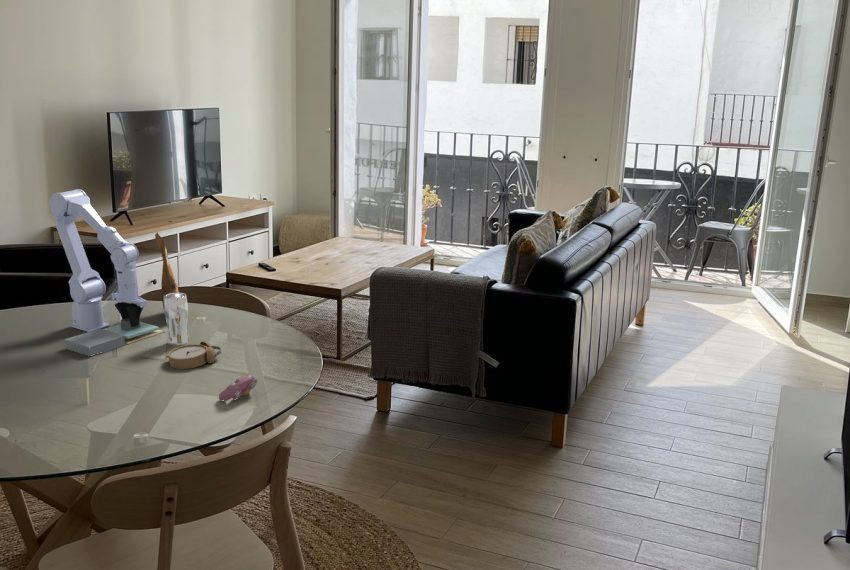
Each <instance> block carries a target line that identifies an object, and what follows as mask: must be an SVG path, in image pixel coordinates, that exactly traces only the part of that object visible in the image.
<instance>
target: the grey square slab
mask: <svg viewBox="0 0 850 570" xmlns="http://www.w3.org/2000/svg"><path fill="white" fill-rule="evenodd" d="M102 329H103V328H101V329H97V330H93V331H90V332H87V331H86V332H84V333H81V334H79V335H78V334H77V335H74V336H70V337H67V338H64V348H65V350H68V351H70V352H73V351H74V352H73V353H76V352H77V353H76V354H79V355H83V354H85V355H84V356H86V355H89V356H91V355H93V354H97V353H100V352H104V353H106V352H105V351H107V352H110V351H112V350H115V349H119V348H121V347H124V346H126V344H125V338H124V336H122V335H119V334H115V333H112V332H109V331H105V330H102ZM89 356H88V357H89Z"/></svg>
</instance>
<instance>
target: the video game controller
mask: <svg viewBox="0 0 850 570" xmlns="http://www.w3.org/2000/svg"><path fill="white" fill-rule="evenodd" d="M257 384H258V379H257V378H255V377H254V376H251V375H250V374H248V375H246V376H240V377H237V379H235V381H233V382H230V384H229V385H228V386H227V387H226V388H225V389H224V390H222V391H221V392H220V393H219V395H218V400H219V401H220V400H224V401H225V402H227V401H229V400H231V399H233V400H234V399H236V398H239V397H240V398H241V396H242V397H245V396H244V395H246V396H247V395H249V393H250V392H251V390H252V389H254V388H255V387H256V386H257ZM240 398H239V399H240Z"/></svg>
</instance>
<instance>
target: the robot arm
mask: <svg viewBox="0 0 850 570" xmlns="http://www.w3.org/2000/svg"><path fill="white" fill-rule="evenodd" d="M48 205H49V207H50V210H51V212H52V213H51V214H52V216H53V221H54V224H55V227H56V230H57V233H58V235H59V239H60V240H61V244H62V246H63V249H64V252H65V255H66V259H67V260H68V261H67V262H68V263H69V265H70V269H71V271H72V275H71V277H70V279H69V281H68V285H69V292H70V293H69V295H70V296H71V299H72V300H73V302H72V305H71V315H72V316H71V317H72V324H70V327H71V328H74V329H77V330H81V331H83V332H86V333H87V332H90V331H93V330H97V329H105V328H108V327H111V326H110V323H107V322H105V321H104V315H103V314H104V313H103V306H102V305H103V302H102V299H103V298H104V297H103V295H105V294H106V291H107V287H106V284H105V282H104V281H103V279H102V278H101V276H100V273H99V272H98V271H96V270H94V269H92V267H91V265H90V262H89V259H88V257H87V254H86V251H85V249H84V246H83V242H82V240H81V237H80V234H79V231H78V228H77V226H76V223H75V220H76V219H77V217H78V216H79V217H81V218H82V219H83V220H84V221H85V223H87V224H88V225H89V226H90V227H91V228H92V229H93V230H94V231H95V232H96V233H97V240H98V241H99V242H100V243H101V244H102V245H103V246H104V248H105V249H106V250H107V251H108V252H109V253H110V254H111V255H110V259H111V263H112V264H113V265H114V270H115V272H116V279H117V280H116V281H117V291H118V292H114V293H111V294H110V295H111V301H116V302H117V303H115V304H114V307H115V308H116V310H117V311H118V312H119V315H120V317H121V320H122V319H126V318H129V317H130V323H131V326H132V327H136V326H138V324H139V319H140V320H141V318H140V317H141V314H142V312H143V309H144V308H145V307H148V301H147V300H146V299H144V298H142V297H141V296H140V295H139V289H138V288H139V287H138V276H137V266H136V265H137V263H136V261H137V260H139V257H140V252H139V249H138V247H137V246H136V245H135V244H134V243H131V242H129V241H126V240H125V239H124V238H123V237H122V236H121V234H119V232H118V230H117V229H116V228H115V227H114V226H109V225H106V223H105V222H104V221H103V219H102V218H101V216H100V215H99V214H98V212H97V211H96V210H95V208H94V207H93V206H92V205H91V198H90V197H89V196H88V195H87V194H86V192H85V191H84V190H83V189H80V188H75V189H74V190H68V191H63V192H55V193H53V194H52V195H51V197H50V199H49V202H48Z"/></svg>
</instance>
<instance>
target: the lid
mask: <svg viewBox="0 0 850 570" xmlns="http://www.w3.org/2000/svg"><path fill="white" fill-rule="evenodd" d="M119 322H120V324H117V325H112V326H108V327H104V328H101V329H102V330H105V331H109V332H112V333H115V334H119V335H122V336H124V338H125V339H129V338H133V337H136V336H139V335H143V334H146V333H149V332H152V331H156V330H160V326H157V325H154V324H149V323H146V322H142V321H141V318H140V319H139V324H138V326H136V327H132V326H131V323H130V317H129V318H126V319H122V318H121V319H120V321H119Z"/></svg>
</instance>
